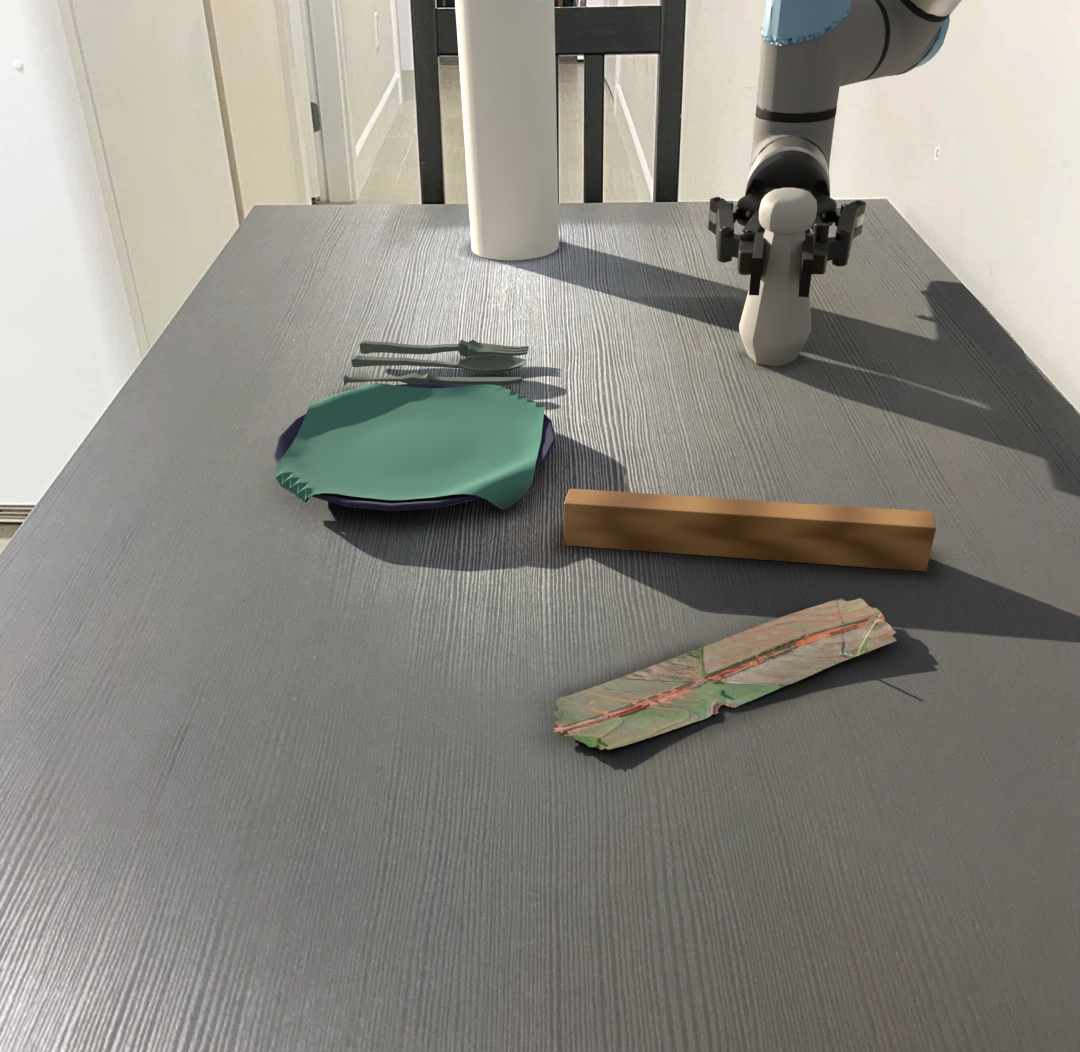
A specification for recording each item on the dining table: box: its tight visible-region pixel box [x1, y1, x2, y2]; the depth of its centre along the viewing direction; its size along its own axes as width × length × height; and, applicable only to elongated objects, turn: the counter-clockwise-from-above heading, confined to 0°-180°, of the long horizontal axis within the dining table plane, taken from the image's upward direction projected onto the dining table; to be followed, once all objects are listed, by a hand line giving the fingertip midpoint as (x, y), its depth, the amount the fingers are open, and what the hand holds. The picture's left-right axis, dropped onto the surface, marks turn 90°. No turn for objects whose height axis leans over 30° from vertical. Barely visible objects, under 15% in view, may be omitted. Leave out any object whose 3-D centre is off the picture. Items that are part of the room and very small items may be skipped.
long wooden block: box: [563, 488, 937, 572], centre depth 67 cm, size 22×2×3 cm, turn 79°
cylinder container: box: [454, 0, 560, 261], centre depth 108 cm, size 9×9×30 cm
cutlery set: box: [273, 339, 556, 512], centre depth 81 cm, size 20×30×2 cm, turn 176°
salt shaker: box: [738, 188, 817, 367], centre depth 87 cm, size 6×6×13 cm
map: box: [552, 597, 898, 751], centre depth 58 cm, size 5×20×1 cm, turn 117°
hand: (780, 277), depth 81 cm, fingers closed on salt shaker, 3 cm apart
